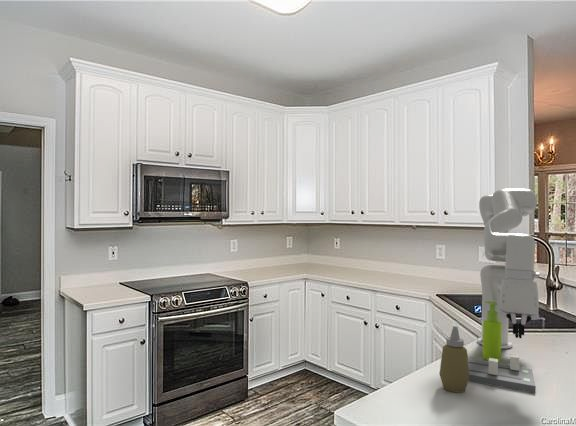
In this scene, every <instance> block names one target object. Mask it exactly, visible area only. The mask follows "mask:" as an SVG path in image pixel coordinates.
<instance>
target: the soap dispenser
mask: <svg viewBox="0 0 576 426" xmlns="http://www.w3.org/2000/svg"><path fill="white" fill-rule="evenodd" d="M485 303H488V304H490V311H487V320H484V321H483V345H482V358H483V360H487V361H489V358H493V359H498V362H500V361H502V349H501V322H499V321H498V313H497V312H496V311H495V305H496V306H497V303H495V302H491V301H485Z"/></svg>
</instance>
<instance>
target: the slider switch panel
mask: <svg viewBox="0 0 576 426" xmlns="http://www.w3.org/2000/svg"><path fill="white" fill-rule="evenodd" d="M468 368H469V381H468V382H474V383H477V384H483V385H488V386H494V387H501V388H504V389H505V388H506V389H512V390H516V391H517V390H518V391H522V392H526V393H527V392H528V393H533V394H536V392H537V391H536V389H537V388H536V381H535V377H534V373H533V369H532V368H528V367H523V366H522V367H521V366H519V371H517V370H511V369H510V364H504V363H498V375H493V374H489V361H484V360H478V359H471V358H468Z"/></svg>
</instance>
